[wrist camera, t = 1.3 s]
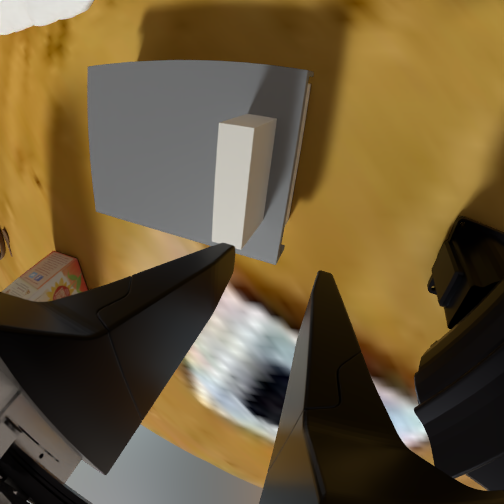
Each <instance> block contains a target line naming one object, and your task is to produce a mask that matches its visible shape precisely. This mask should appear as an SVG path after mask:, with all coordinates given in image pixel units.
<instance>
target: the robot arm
mask: <svg viewBox="0 0 504 504" xmlns="http://www.w3.org/2000/svg"><path fill="white" fill-rule="evenodd" d="M461 222H465V224H464V225H463V226H460V223H461ZM234 262H235V246H233V245H230V244H227V243H219V244H217V245H214V246H211V247H208V248H205V249H203V250H200V251H197V252H194V253H192V254H189V255H186V256H183V257H181V258H178V259H175V260H172V261H170V262H167V263H164V264H161V265H159V266H156V267H153V268H151V269H148V270H145V271H142V272H140V273H137V274H134V275H132V277H131V276H129V277H126V278H124V279H121V280H118V281H115V282H112V283H110V284H107V285H104V286H101V287H97V288H94V289H91V290H87V291H84V292H80V293H77V294H73V295H70V296H67V297H63V298H60V299H56V300H52V301H46V302H36V301H30V300H27V299H23V298H20V297H16V296H13V295H10V294H6V293H3V292H0V504H30V503H28V502H27V500H28V501H29V502H31V503H32V504H92V503H91V502H89V501H88V500H86V499H85V498H84V497H82V496H81V495H80V494H78V493H77V492H75V491H74V490H72V489H71V488H70V487H68V486H67V485H66V484H65V482H66V481H67V479H68V478H69V476H70V475H71V474H72V472H73V471H74V469H75V468H76V466H77V465H78V464H79V462H80V461H81V460H83V461H85V462H86V463H87V464H89V465H90V466H92V467H93V468H95V469H96V470H98V471H99V472H101V473H102V474H104V475H106V474H107V473H108V472H109V471H110V469H111V468H112V466H113V465H114V463H115V462H116V460H117V458H118V457H119V455H120V454H121V452H122V451H123V449H124V448H125V446H126V445H127V443H128V442H129V440H130V439H131V437H132V436H133V434H134V433H135V431H136V430H137V428H138V427H139V425H140V424H141V422H142V420H143V419H144V417H145V416H146V414H147V413H148V411H149V410H150V408H151V407H152V405H153V404H154V402H155V401H156V399H157V398H158V396H159V395H160V393H161V392H162V390H163V389H164V387H165V386H166V384H167V383H168V381H169V380H170V378H171V377H172V375H173V373H174V372H175V370H176V369H177V367H178V366H179V364H180V363H181V361H182V360H183V358H184V357H185V355H186V354H187V352H188V351H189V349H190V348H191V346H192V345H193V343H194V342H195V340H196V339H197V337H198V336H199V334H200V333H201V331H202V330H203V328H204V326H205V325H206V323H207V322H208V320H209V319H210V317H211V316H212V314H213V312H214V310H215V309H216V307H217V305H218V303H219V300H220V298H221V296H222V294H223V292H224V290H225V288H226V286H227V284H228V282H229V280H230V278H231V276H232V274H233V270H234ZM433 285H435V287H434V288H432V286H433ZM427 287H428V291H429V292H430V293H433V294H436V295H437V297H438V302H439V305H440V306H442V307H444V310H445V315H446V320H447V326H448V328H449V329H451V330H450V331H449V332H448V333H446V334H445V335H444V336H443V337H442V338H441V339H440V340H438V341H436V342H434V343H433V344H432V345H431V346H430V348H429V349H428V350H427V351H426V352H425V353H424V355H423V356H422V357H421V361H420V365H419V371H418V372H416V373H415V376H414V380H415V390H416V394H417V399H418V403H419V405H418V406H417V407H415V408H414V412H415V414H416V415H417V417H418V418H419V420H420V421H421V422H422V424H423V426H424V428H425V430H426V433H427V435H428V437H429V440H430V444H431V448H432V454H433V459H434V465H435V466H433V465H432V464H430V463H429V462H427V461H425V460H424V459H422V458H421V457H419V456H418V455H416V454H415V453H413V452H412V451H411V450H409V449H408V448H407V447H406V445H405V444H404V443H403V442H402V440H401V439H400V437H399V435H398V434H397V432H396V430H395V428H394V425H393V423H392V421H391V419H390V417H389V415H388V413H387V411H386V409H385V406H384V404H383V402H382V400H381V398H380V396H379V394H378V392H377V390H376V387H375V385H374V383H373V381H372V379H371V376H370V374H369V371H368V368H367V366H366V363H365V360H364V357H363V354H362V353H361V349H360V346H359V343H358V341H357V338H356V335H355V332H354V330H353V327H352V324H351V322H350V319H349V316H348V314H347V311H346V308H345V306H344V303H343V301H342V298H341V295H340V293H339V290H338V288H337V285H336V283H335V280H334V278H333V275H332V274H331V273H328V272H325V271H321V270H320V271H318V273H317V276H316V279H315V282H314V285H313V289H312V292H311V295H310V299H309V302H308V305H307V309H306V312H305V315H304V319H303V322H302V325H301V328H300V332H299V335H298V338H297V342H296V347H295V352H294V357H293V362H292V367H291V372H290V377H289V382H288V387H287V392H286V396H285V401H284V406H283V410H282V414H281V419H280V423H279V428H278V432H277V436H276V440H275V444H274V449H273V453H272V457H271V461H270V465H269V469H268V473H267V476H266V480H265V484H264V487H263V491H262V495H261V498H260V502H259V504H504V232H501V231H499V230H497V229H494V228H492V227H489V226H487V225H484V224H482V223H479V222H477V221H474V220H471V219H469V218H466V217H463V216H461V217H458V218H457V220H456V221H455V224H454V226H453V229H452V231H451V234H450V236H449V238H448V241H445V242H444V243H443V245H442V248H441V250H440V252H439V255H438V257H437V259H436V261H435V263H434V265H433V268H432V276H431V278H430V280H429V282H428V284H427ZM464 474H466V475H467V476H468V477H470V478H471V479H473V480H474V481H475V482H477V483H478V484H480V485H481V486H483V487H484V488H485V489H487V490H488V491H482V490H477V489H474V488H471V487H468V486H466V485H464V484H462V483H460V482H459V481H457V480H455V478H457V477H459V476H462V475H464Z"/></svg>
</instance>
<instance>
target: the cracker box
mask: <svg viewBox="0 0 504 504" xmlns="http://www.w3.org/2000/svg"><path fill="white" fill-rule="evenodd" d="M87 290H88V289H87V286H86V284H85V281H84V278H83V275H82V272H81V269H80V266H79V263H78V260H77V259H76V258H73V257H70V256H68V255H65V254H62V253H59V252H56V251H53V252H51V253H50V254H49V255H47V256H46V257H45V258H43V259H42V260H41V261H39V262H38V263H37V264H35V265H34V266H33V267H31V268H30V269H29V270H28V271H26V272H25V273H24V274H22V275H21V276H20V277H19V278H18V279H16V280H15V281H14V282H13V283H12V284H10V285H9V286H8V287H7V288H5V289H4V290H3V291H2V292H3V293H6V294H10V295H13V296H16V297H20V298H23V299H27V300H30V301H36V302H46V301H52V300H56V299H60V298H63V297H67V296H70V295H73V294H77V293H80V292H84V291H87Z"/></svg>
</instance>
